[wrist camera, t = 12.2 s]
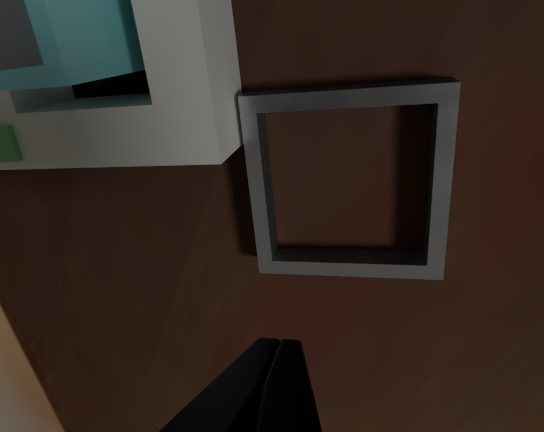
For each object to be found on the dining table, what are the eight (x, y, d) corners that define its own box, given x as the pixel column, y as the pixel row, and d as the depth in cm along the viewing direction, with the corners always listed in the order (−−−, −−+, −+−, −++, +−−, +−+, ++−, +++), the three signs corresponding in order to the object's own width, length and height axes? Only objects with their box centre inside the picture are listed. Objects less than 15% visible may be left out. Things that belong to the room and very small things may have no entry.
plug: (145, -31, 18) (-33, -73, 10) (164, 65, 20) (23, 95, 12) (67, -19, 19) (-153, -49, 11) (91, 72, 21) (-86, 104, 13)
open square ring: (453, 77, 17) (460, 82, 16) (438, 263, 21) (443, 279, 19) (247, 91, 19) (237, 96, 18) (265, 258, 23) (259, 272, 22)
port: (212, -161, 16) (160, -219, 12) (247, 139, 20) (218, 166, 16) (-32, -106, 18) (-138, -140, 14) (49, 147, 23) (-15, 172, 19)
